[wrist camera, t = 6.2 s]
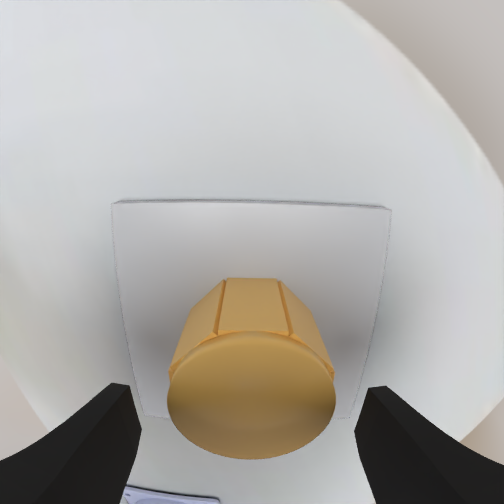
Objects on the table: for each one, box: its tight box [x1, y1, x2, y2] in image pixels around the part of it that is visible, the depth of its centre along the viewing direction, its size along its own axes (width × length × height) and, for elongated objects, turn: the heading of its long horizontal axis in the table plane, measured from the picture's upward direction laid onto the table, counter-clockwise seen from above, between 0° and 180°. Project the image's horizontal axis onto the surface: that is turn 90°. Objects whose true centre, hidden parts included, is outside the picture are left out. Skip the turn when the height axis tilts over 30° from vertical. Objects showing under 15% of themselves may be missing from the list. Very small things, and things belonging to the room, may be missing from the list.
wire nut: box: [167, 278, 336, 459], centre depth 10 cm, size 5×5×5 cm
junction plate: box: [111, 200, 392, 420], centre depth 12 cm, size 11×11×4 cm
